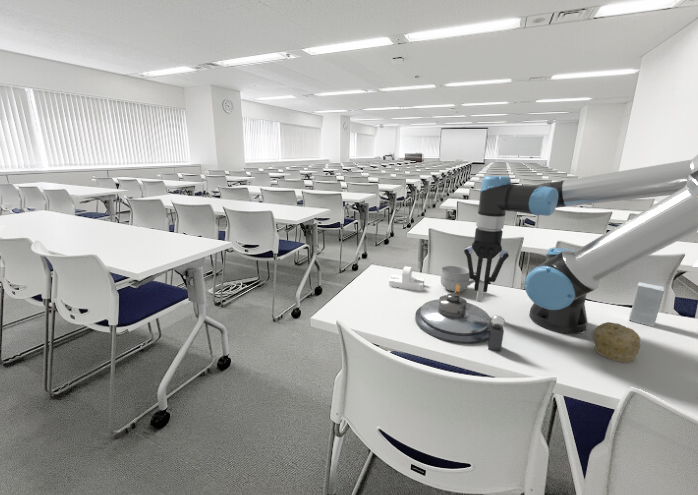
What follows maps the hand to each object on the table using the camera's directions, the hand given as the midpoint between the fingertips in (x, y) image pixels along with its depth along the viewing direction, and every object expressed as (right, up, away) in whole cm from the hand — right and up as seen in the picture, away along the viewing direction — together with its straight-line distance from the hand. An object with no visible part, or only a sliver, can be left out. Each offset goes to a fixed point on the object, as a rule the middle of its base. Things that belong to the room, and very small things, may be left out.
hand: (479, 300), depth 105 cm
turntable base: (-10, -6, -5) cm, 12 cm away
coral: (+27, -11, -19) cm, 35 cm away
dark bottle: (-3, -10, -17) cm, 20 cm away
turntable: (-9, -4, -4) cm, 11 cm away
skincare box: (+50, -7, -2) cm, 50 cm away
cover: (-10, -3, -5) cm, 12 cm away
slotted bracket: (-19, +2, +24) cm, 30 cm away
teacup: (0, +1, +21) cm, 21 cm away
